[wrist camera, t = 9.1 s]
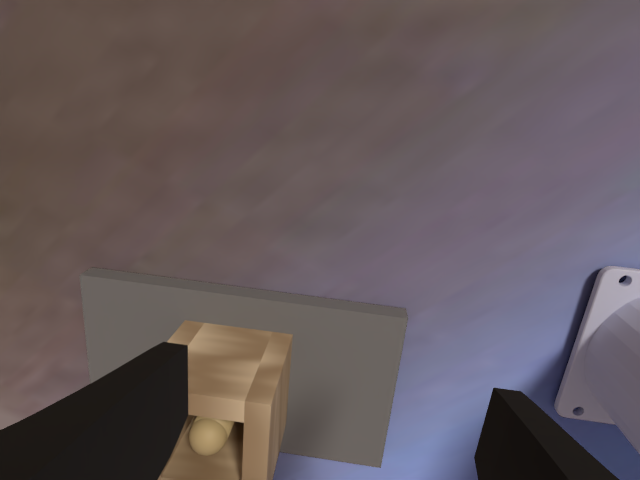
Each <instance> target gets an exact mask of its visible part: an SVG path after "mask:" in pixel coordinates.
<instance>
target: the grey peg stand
mask: <svg viewBox="0 0 640 480" xmlns="http://www.w3.org/2000/svg"><path fill="white" fill-rule="evenodd" d="M80 285H81V296H82V306H83V316H84V326H85V337H86V347H87V357H88V367H89V378H90V384H91V383H93V382H94V381H96V380H98V379H100V378H101V377H103V376H105V375H106V374H108V373H110V372H112V371H113V370H115V369H117V368H118V367H120V366H122V365H124V364H125V363H127V362H129V361H130V360H132V359H134V358H135V357H137V356H139V355H140V354H142V353H144V352H146V351H147V350H149V349H151V348H153V347H154V346H156V345H158V344H160V343H162V342H167V341H168V340H169V339H170V338H171V336H172V335H173V334H174V333H175V332H176V330H177V329H178V328H179V327H180V326H181V324H182V323H183V322H184V321H185V320H187V321H194V322H202V323H210V324H217V325H225V326H233V327H240V328H248V329H255V330H263V331H271V332H278V333H286V334H293V339H292V352H291V365H290V378H289V391H288V404H287V417H286V426H285V430H284V434H283V438H282V442H281V446H280V451H279V452H283V453H290V454H296V455H302V456H309V457H315V458H322V459H328V460H334V461H341V462H347V463H353V464H360V465H366V466H372V467H379V468H381V463H382V457H383V452H384V446H385V441H386V436H387V430H388V425H389V419H390V414H391V408H392V403H393V397H394V392H395V386H396V381H397V376H398V370H399V365H400V359H401V354H402V348H403V343H404V337H405V332H406V327H407V321H408V316H407V312H406V309H405V308H397V307H390V306H382V305H375V304H367V303H359V302H352V301H344V300H337V299H329V298H321V297H314V296H306V295H299V294H291V293H283V292H276V291H268V290H261V289H253V288H245V287H238V286H230V285H223V284H215V283H207V282H200V281H192V280H185V279H177V278H169V277H162V276H154V275H147V274H139V273H131V272H124V271H116V270H109V269H101V268H93V267H92V268H90V269H89V270H87V271H85V272H84V273H82V274H80ZM234 422H235V421H229V420H222V419H215V418H208V417H201V416H197V417H196V419H195V421H194V423H193V424H192V426H191V429H190V432H189V442H190V445H191V447H192V449H193V450H194V451H195V452H196V453H198V454H200V455H204V456H209V455H213V454H215V453H217V452H219V451H220V450H221V449H222V448H223V447H224V445H225V443H226V441H227V439H228V437H229V434H230V432H231V429H232V427H233V424H234Z"/></svg>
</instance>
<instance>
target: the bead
mask: <svg viewBox="0 0 640 480" xmlns="http://www.w3.org/2000/svg"><path fill="white" fill-rule="evenodd" d="M292 339H293V334H286V333H278V332H271V331H263V330H255V329H248V328H240V327H233V326H225V325H217V324H210V323H202V322H194V321H187V320H185V321H184V322H183V323H182V324H181V326H180V327H179V328H178V329H177V330H176V332H175V333H174V334H173V335H172V336H171V338H170V339H169V340H168V341H167V342H169V343H176V344H183V345H188V417H187V419H186V422H185V424H184V427H183V429H182V431H181V434H180V436H179V439H178V441H177V443H176V445H175V448H174V450H173V452H172V455H171V457H170V458H169V460H168V462H167V464H166V466H165V467H164V469H163V471H162V473H161V474H160V476H159V478H158V480H272V479H273V475H274V471H275V467H276V463H277V459H278V455H279V451H280V446H281V442H282V438H283V434H284V430H285V426H286V417H287V404H288V391H289V378H290V365H291V352H292ZM197 416H201V417H208V418H215V419H222V420H229V421H235V422H234V424H233V427H232V429H231V432H230V434H229V437H228V439H227V441H226V443H225V445H224V447H223V448H222V449H221V450H220V451H219V452H217V453H215V454H213V455H209V456H204V455H200V454H198V453H196V452H195V451H194V450H193V449H192V447H191V445H190V442H189V432H190V429H191V426H192V424H193V423H194V421H195V419H196V417H197Z"/></svg>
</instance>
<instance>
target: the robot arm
mask: <svg viewBox="0 0 640 480" xmlns="http://www.w3.org/2000/svg"><path fill="white" fill-rule="evenodd" d="M623 276H626V279H625V281H623V282H622V283H619V279H620V278H621V277H623ZM576 407H579V409H577V410H574V408H576ZM554 408H555V410H556V411H557V413H558V414H559V415H560V416H562V417H566V418H573V419H579V420H586V421H593V422H600V423H607V424H614V425H617V427H618V428H619V429H620V430H621V432H622V433H623V434H624V435H625V437H626V438H627V439H628V440H629V442H630V443H631V444H632V446H633V447H634V448H635V449H636V451H637V452H638V453H639V454H640V269H633V268H625V267H617V266H607V267H605V268H603V269H602V270H600V271H599V273H598V275H597V278H596V281H595V284H594V287H593V290H592V293H591V296H590V299H589V302H588V305H587V308H586V311H585V314H584V317H583V319H582V322H581V325H580V328H579V331H578V334H577V337H576V340H575V343H574V346H573V349H572V352H571V355H570V358H569V361H568V364H567V367H566V370H565V373H564V376H563V379H562V382H561V385H560V388H559V391H558V394H557V397H556V400H555V403H554ZM187 417H188V345H183V344H176V343H169V342H162V343H160V344H158V345H156V346H154V347H153V348H151V349H149V350H147V351H146V352H144V353H142V354H140V355H139V356H137V357H135V358H134V359H132V360H130V361H129V362H127V363H125V364H124V365H122V366H120V367H118V368H117V369H115V370H113V371H112V372H110V373H108V374H106V375H105V376H103V377H101V378H100V379H98V380H96V381H94V382H93V383H91V384H89V385H87V386H86V387H84V388H82V389H80V390H78V391H76V392H75V393H73V394H71V395H69V396H67V397H65V398H63V399H61V400H60V401H58V402H56V403H54V404H52V405H50V406H48V407H46V408H45V409H43V410H41V411H39V412H37V413H35V414H33V415H31V416H29V417H27V418H25V419H23V420H21V421H19V422H17V423H15V424H13V425H11V426H8V427H6V428H4V429H2V430H0V480H158V478H159V476H160V474H161V473H162V471H163V469H164V467H165V466H166V464H167V462H168V460H169V458H170V457H171V455H172V452H173V450H174V448H175V445H176V443H177V441H178V439H179V436H180V434H181V431H182V429H183V427H184V424H185V422H186V419H187ZM474 458H475V464H476V469H477V475H478V480H619V479H618V478H617V477H616V476H614V475H613V474H612V473H611V472H610V471H609V470H607V469H606V468H605V467H604V466H603V465H602V464H601V463H600V462H598V461H597V460H596V459H595V458H594V457H593V456H592V455H591V454H590V453H588V452H587V451H586V450H585V449H584V448H583V447H582V446H581V445H580V444H579V443H577V442H576V441H575V440H574V439H573V438H572V437H571V436H570V435H569V434H568V433H567V432H566V431H564V430H563V429H562V428H561V427H560V426H559V425H558V424H557V423H556V422H555V421H554V420H553V419H551V418H550V417H549V416H548V415H547V414H546V413H545V412H544V411H543V410H542V409H541V408H539V407H538V406H537V405H536V404H535V403H534V402H533V401H532V400H530V399H529V398H528V397H527V396H526V395H524V394H523V393H522V392H521V391H514V390H506V389H499V388H493V392H492V395H491V399H490V402H489V406H488V410H487V413H486V417H485V421H484V424H483V428H482V432H481V435H480V439H479V443H478V446H477V450H476V453H475V457H474Z"/></svg>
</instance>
